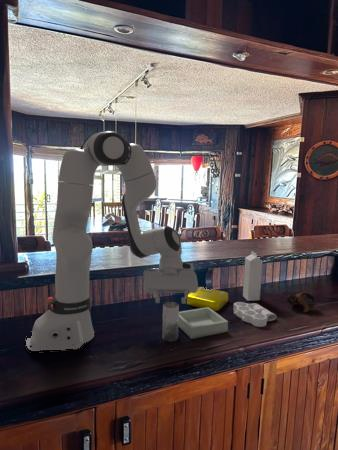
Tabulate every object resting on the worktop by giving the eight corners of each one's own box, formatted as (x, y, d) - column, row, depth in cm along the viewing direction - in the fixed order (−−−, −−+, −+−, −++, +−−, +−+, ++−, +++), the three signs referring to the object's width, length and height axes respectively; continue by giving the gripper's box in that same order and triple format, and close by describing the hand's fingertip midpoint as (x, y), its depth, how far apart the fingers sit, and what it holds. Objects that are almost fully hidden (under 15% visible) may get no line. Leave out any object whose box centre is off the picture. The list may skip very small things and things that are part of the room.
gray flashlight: (165, 342, 113) (166, 307, 111) (159, 335, 118) (160, 301, 116) (180, 339, 115) (181, 304, 113) (173, 332, 120) (174, 299, 118)
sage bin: (191, 338, 116) (191, 328, 116) (174, 322, 129) (174, 312, 128) (227, 331, 122) (228, 321, 122) (207, 316, 135) (208, 307, 134)
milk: (254, 295, 160) (257, 250, 156) (259, 300, 154) (263, 253, 151) (242, 296, 159) (245, 250, 155) (247, 300, 153) (250, 254, 150)
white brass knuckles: (281, 324, 131) (250, 329, 125) (254, 306, 147) (225, 311, 142) (282, 316, 130) (251, 321, 125) (254, 299, 147) (225, 303, 141)
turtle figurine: (305, 304, 152) (314, 292, 147) (310, 321, 144) (320, 309, 140) (280, 297, 151) (289, 285, 146) (284, 314, 143) (294, 301, 138)
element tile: (185, 304, 147) (185, 294, 147) (199, 294, 160) (199, 285, 160) (216, 312, 140) (217, 301, 139) (229, 301, 153) (229, 291, 152)
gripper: (143, 264, 126) (141, 298, 117) (197, 265, 126) (199, 299, 118) (143, 272, 131) (142, 305, 123) (196, 273, 131) (197, 306, 123)
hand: (170, 302), depth 120 cm, fingers open, 8 cm apart
